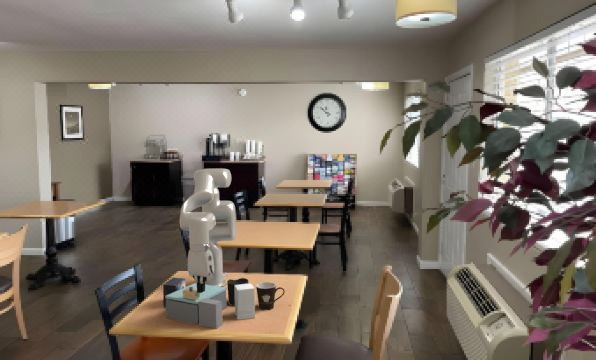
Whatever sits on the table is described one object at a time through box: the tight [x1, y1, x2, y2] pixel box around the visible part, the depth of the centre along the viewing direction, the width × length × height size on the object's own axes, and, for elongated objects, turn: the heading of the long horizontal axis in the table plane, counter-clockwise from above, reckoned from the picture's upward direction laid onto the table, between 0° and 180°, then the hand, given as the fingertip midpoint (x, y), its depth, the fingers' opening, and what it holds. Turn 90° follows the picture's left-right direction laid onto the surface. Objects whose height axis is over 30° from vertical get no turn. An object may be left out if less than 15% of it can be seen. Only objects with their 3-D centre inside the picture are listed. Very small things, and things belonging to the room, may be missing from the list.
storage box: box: [165, 290, 227, 329], centre depth 207 cm, size 20×25×10 cm
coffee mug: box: [255, 281, 286, 311], centre depth 214 cm, size 12×9×10 cm
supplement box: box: [234, 283, 256, 320], centre depth 206 cm, size 7×7×13 cm
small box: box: [162, 276, 187, 308], centre depth 221 cm, size 11×6×10 cm, turn 168°
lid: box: [165, 282, 227, 304], centre depth 209 cm, size 20×16×1 cm
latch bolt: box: [183, 287, 200, 300], centre depth 200 cm, size 3×6×4 cm, turn 64°
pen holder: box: [226, 277, 249, 307], centre depth 221 cm, size 9×9×10 cm
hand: (201, 291), depth 198 cm, fingers closed
